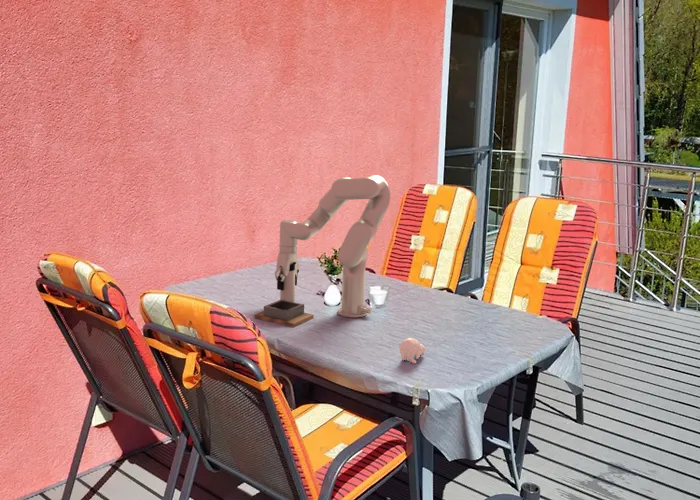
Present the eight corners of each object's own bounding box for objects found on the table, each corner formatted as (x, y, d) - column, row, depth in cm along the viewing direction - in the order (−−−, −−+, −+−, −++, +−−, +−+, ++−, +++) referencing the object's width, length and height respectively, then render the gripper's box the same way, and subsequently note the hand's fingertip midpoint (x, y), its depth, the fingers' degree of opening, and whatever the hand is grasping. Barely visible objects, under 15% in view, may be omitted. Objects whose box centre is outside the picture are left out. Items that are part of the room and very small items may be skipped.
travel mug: (293, 309, 290) (293, 264, 286) (278, 307, 292) (278, 263, 287) (297, 305, 296) (297, 260, 292) (282, 303, 298) (283, 259, 293)
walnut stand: (313, 318, 279) (313, 314, 279) (294, 327, 267) (294, 323, 267) (274, 309, 289) (274, 306, 289) (254, 318, 277) (254, 314, 277)
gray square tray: (304, 313, 280) (304, 304, 279) (287, 321, 270) (287, 311, 269) (280, 308, 286) (280, 299, 285) (263, 315, 276) (263, 306, 275)
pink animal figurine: (398, 337, 233) (416, 332, 243) (396, 361, 235) (414, 355, 244) (414, 342, 230) (431, 336, 239) (412, 366, 231) (429, 359, 241)
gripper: (292, 244, 298) (291, 281, 301) (268, 251, 283) (268, 290, 287) (306, 247, 294) (305, 284, 298) (283, 253, 279) (282, 293, 283)
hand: (287, 287), depth 292 cm, fingers open, 9 cm apart
